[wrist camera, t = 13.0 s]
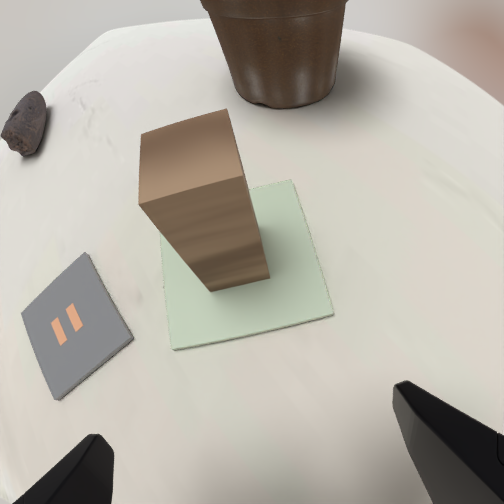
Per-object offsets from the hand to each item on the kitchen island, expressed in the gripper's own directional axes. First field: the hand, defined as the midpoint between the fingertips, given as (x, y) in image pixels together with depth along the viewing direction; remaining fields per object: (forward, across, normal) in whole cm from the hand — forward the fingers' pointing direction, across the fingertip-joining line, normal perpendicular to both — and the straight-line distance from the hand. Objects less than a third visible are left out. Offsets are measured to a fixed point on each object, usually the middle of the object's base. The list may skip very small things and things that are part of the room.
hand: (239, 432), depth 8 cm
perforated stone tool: (+39, +28, -20) cm, 52 cm away
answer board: (+18, +1, +1) cm, 18 cm away
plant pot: (+33, -9, -14) cm, 37 cm away
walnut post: (+17, +1, +1) cm, 17 cm away
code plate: (+16, +17, +3) cm, 23 cm away
